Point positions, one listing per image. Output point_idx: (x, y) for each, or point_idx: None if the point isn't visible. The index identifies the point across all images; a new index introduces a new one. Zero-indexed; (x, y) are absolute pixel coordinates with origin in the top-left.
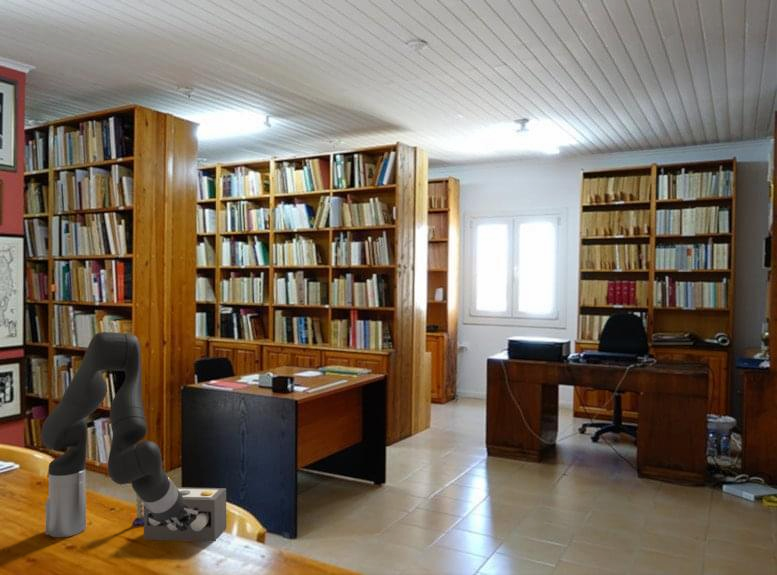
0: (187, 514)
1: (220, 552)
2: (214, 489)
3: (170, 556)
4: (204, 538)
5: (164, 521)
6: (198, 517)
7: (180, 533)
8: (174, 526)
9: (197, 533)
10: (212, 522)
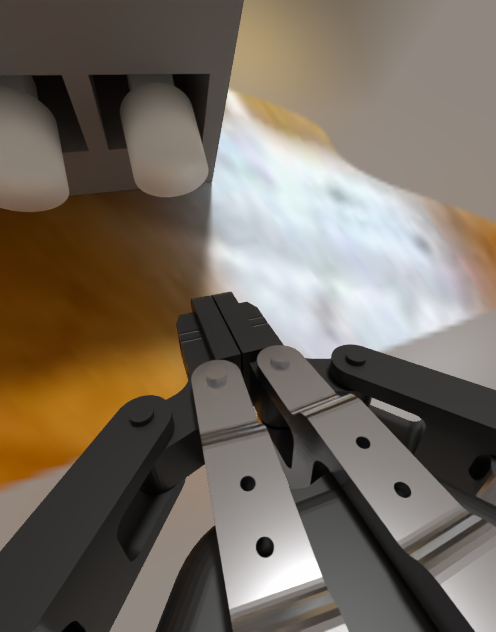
0: (361, 387)
1: (284, 253)
2: None
3: (114, 331)
4: None
5: (162, 523)
6: (176, 142)
7: None
8: (35, 197)
9: None
10: (211, 124)
